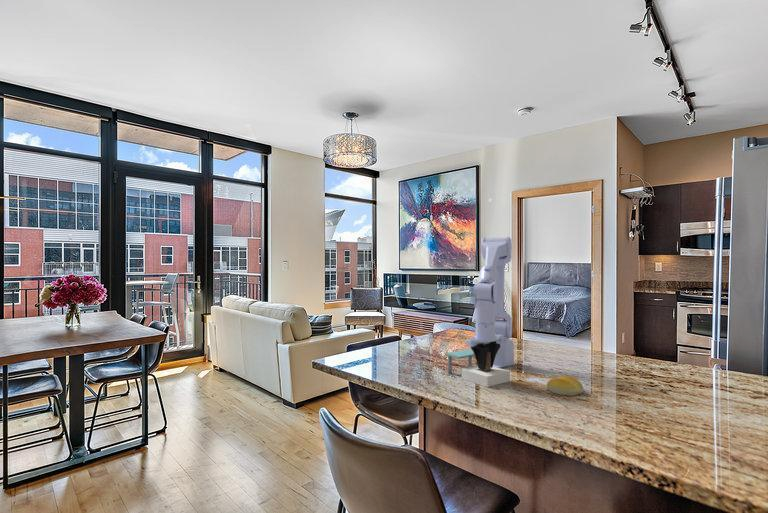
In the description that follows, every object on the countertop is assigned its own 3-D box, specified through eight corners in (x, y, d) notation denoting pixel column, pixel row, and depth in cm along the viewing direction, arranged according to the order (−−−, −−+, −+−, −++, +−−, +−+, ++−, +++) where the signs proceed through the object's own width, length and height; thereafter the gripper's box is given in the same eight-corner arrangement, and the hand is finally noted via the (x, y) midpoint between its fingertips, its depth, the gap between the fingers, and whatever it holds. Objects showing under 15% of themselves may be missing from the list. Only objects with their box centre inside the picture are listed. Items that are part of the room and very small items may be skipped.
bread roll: (541, 389, 110) (540, 375, 110) (563, 385, 114) (563, 371, 114) (565, 399, 103) (565, 383, 103) (589, 393, 107) (589, 379, 107)
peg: (487, 373, 121) (487, 350, 121) (492, 376, 118) (492, 352, 118) (479, 374, 120) (479, 351, 120) (484, 376, 117) (484, 353, 117)
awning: (470, 368, 132) (470, 348, 132) (483, 372, 127) (483, 352, 127) (445, 373, 126) (445, 353, 126) (459, 377, 121) (459, 356, 121)
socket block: (484, 373, 126) (484, 363, 126) (510, 381, 118) (509, 371, 118) (461, 378, 120) (461, 368, 120) (487, 387, 112) (487, 376, 112)
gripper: (490, 319, 127) (491, 361, 126) (458, 323, 118) (458, 368, 118) (509, 321, 121) (509, 366, 121) (476, 326, 113) (476, 374, 112)
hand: (485, 367), depth 119 cm, fingers closed on peg, 3 cm apart
